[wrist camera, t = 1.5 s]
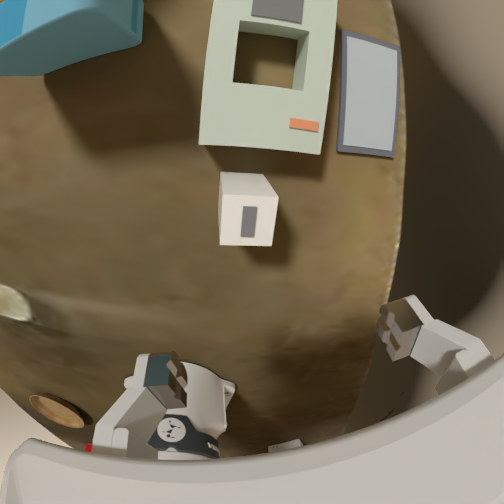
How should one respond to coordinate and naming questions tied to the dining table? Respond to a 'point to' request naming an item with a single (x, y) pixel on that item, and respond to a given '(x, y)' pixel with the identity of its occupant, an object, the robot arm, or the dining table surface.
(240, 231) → the plug
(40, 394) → the plant saucer
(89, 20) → the blue rounded block
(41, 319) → the dining table surface
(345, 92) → the phone
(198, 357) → the dining table surface
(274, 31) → the socket strip
